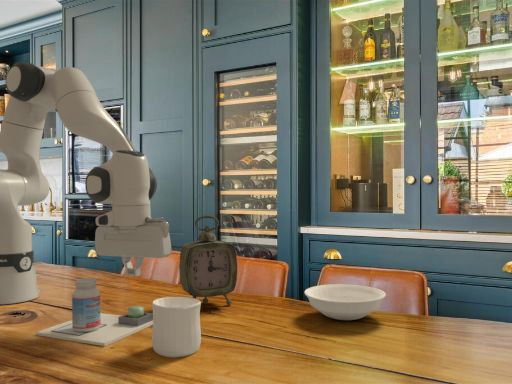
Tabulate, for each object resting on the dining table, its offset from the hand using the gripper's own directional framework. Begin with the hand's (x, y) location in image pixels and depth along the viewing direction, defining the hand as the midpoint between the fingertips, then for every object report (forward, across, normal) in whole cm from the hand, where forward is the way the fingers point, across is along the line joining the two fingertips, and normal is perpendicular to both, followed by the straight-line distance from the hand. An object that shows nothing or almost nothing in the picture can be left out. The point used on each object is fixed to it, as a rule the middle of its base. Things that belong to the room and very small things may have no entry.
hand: (133, 275), depth 109 cm
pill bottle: (+11, +7, +8) cm, 16 cm away
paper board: (+12, +6, +5) cm, 14 cm away
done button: (+10, 0, -1) cm, 10 cm away
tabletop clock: (+12, -7, -23) cm, 27 cm away
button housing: (+12, 0, -1) cm, 12 cm away
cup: (+12, -19, +10) cm, 25 cm away
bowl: (+13, -45, -25) cm, 53 cm away
